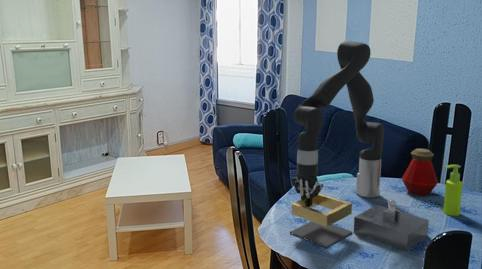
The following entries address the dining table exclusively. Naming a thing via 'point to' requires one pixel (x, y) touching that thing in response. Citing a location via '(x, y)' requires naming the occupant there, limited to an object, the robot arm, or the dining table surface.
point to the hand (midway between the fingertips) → (306, 205)
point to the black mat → (321, 233)
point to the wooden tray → (325, 219)
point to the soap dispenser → (453, 192)
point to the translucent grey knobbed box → (391, 226)
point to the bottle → (420, 173)
